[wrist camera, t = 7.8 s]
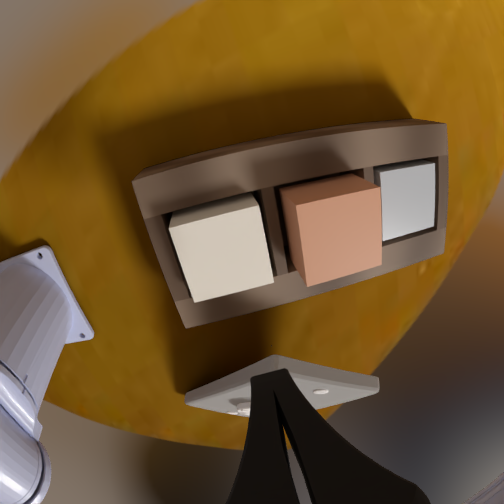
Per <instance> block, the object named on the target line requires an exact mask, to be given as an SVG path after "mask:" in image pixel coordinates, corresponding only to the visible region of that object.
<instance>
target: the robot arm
mask: <svg viewBox="0 0 504 504" xmlns="http://www.w3.org/2000/svg"><path fill="white" fill-rule="evenodd" d="M39 253H41V254H42V256H43V257H41V256H40V255H39ZM81 333H83V334H84V335H82V334H81ZM93 336H94V331H93V329H92V327H91V326H90V324H89V322H88V320H87V319H86V317H85V315H84V313H83V312H82V310H81V308H80V306H79V304H78V302H77V301H76V299H75V297H74V295H73V293H72V291H71V289H70V287H69V285H68V283H67V281H66V279H65V277H64V275H63V273H62V271H61V269H60V267H59V265H58V262H57V260H56V258H55V256H54V254H53V251H52V249H51V248H50V247H49V246H47V245H44V246H41V247H38V248H36V249H33V250H30V251H28V252H25V253H22V254H20V255H17V256H15V257H12V258H10V259H7V260H5V261H2V262H0V504H40V503H41V501H42V500H43V498H44V497H45V495H46V493H47V491H48V487H49V484H50V479H51V464H50V459H49V455H48V453H47V451H46V449H45V448H44V446H43V445H42V443H41V442H40V441H39V438H40V434H41V431H42V425H41V424H40V423H39V421H38V419H37V414H38V411H39V409H40V406H41V403H42V400H43V397H44V394H45V391H46V389H47V386H48V383H49V381H50V378H51V375H52V373H53V370H54V368H55V365H56V363H57V360H58V358H59V356H60V353H61V351H62V348H63V346H64V344H67V343H73V342H78V341H84V340H89V339H92V338H93ZM250 383H251V404H250V415H249V423H248V430H247V436H246V441H245V446H244V451H243V455H242V459H241V462H240V466H239V469H238V473H237V476H236V478H235V482H234V484H233V487H232V490H231V492H230V495H229V497H228V500H227V502H226V504H300V502H299V499H298V496H297V493H296V489H295V485H294V482H293V478H292V474H291V469H290V463H289V457H288V452H287V446H286V441H285V435H284V430H283V427H284V429H285V432H286V434H287V437H288V439H289V442H290V444H291V446H292V449H293V451H294V454H295V456H296V459H297V461H298V463H299V466H300V468H301V471H302V473H303V476H304V479H305V483H306V486H307V489H308V492H309V495H310V499H311V502H312V504H431V503H430V501H429V499H428V498H427V496H426V495H425V494H424V492H423V491H422V490H421V489H420V488H419V487H418V486H417V485H416V484H414V483H412V482H410V481H408V480H406V479H404V478H402V477H400V476H398V475H396V474H394V473H393V472H391V471H389V470H387V469H386V468H384V467H382V466H381V465H379V464H378V463H376V462H374V461H373V460H372V459H370V458H369V457H367V456H366V455H364V454H363V453H362V452H360V451H359V450H358V449H356V448H355V447H354V446H353V445H351V444H350V443H349V442H348V441H347V440H345V439H344V438H343V437H342V436H341V435H340V434H339V433H337V432H336V431H335V430H334V429H333V428H332V427H331V426H330V425H329V424H328V423H327V422H326V421H325V420H324V419H323V417H322V416H321V415H320V414H319V413H318V412H317V411H316V410H315V408H314V407H313V406H312V405H311V404H310V403H309V401H308V400H307V399H306V398H305V396H304V395H303V394H302V392H301V391H300V389H299V388H298V387H297V385H296V383H295V382H294V380H293V379H292V377H291V375H290V373H289V371H288V369H286V368H283V369H279V370H275V371H272V372H268V373H264V374H260V375H256V376H252V377H251V378H250ZM463 504H504V472H503V473H502V474H501V475H500V476H498V478H496V479H495V480H494V481H493V482H491V483H490V484H489V485H488V486H486V487H485V488H484V489H482V490H481V491H480V492H478V493H477V494H475V495H474V496H473V497H471V498H470V499H468V500H467V501H466V502H464V503H463Z"/></svg>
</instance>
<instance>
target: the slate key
mask: <svg viewBox="0 0 504 504" xmlns="http://www.w3.org/2000/svg"><path fill="white" fill-rule="evenodd" d="M373 174H374V184H375V185H377V186H379V187H380V191H381V216H382V241H385V240H389V239H392V238H396V237H399V236H403V235H406V234H409V233H413V232H416V231H420V230H423V229H426V228H430V227H433V226H434V212H435V163H433V162H430V161H426V160H423V159H414V160H408V161H401V162H395V163H389V164H383V165H377V166H373Z"/></svg>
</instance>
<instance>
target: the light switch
mask: <svg viewBox="0 0 504 504" xmlns="http://www.w3.org/2000/svg"><path fill="white" fill-rule="evenodd" d="M271 346H272V345H271ZM283 368H286V369H288V371H289V373H290V375H291V377H292V379H293V380H294V382H295V383H296V385H297V387H298V388H299V389H300V391H301V392H302V394H303V395H304V396H305V398H306V399H307V400H308V401H309V403H310V404H311V405H312V406H313V407H314V408H315V409H320V408H324V407H328V406H332V405H336V404H340V403H344V402H348V401H351V400H355V399H359V398H362V397H365V396H369V395H372V394H375V393H377V392H378V391H379V378H378V377H374V376H369V375H364V374H359V373H354V372H349V371H344V370H339V369H334V368H330V367H325V366H321V365H317V364H312V363H308V362H304V361H300V360H296V359H292V358H288V357H284V356H280V355H271V356H269V357H267V358H265V359H263V360H260V361H258V362H256V363H254V364H252V365H250V366H248V367H245V368H243V369H241V370H239V371H237V372H234V373H232V374H230V375H228V376H225V377H223V378H221V379H218V380H216V381H214V382H211V383H209V384H206V385H204V386H202V387H199V388H197V389H194V390H192V391H189V392H187V393H186V395H185V404H187V405H190V406H194V407H199V408H203V409H208V410H213V411H218V412H223V413H228V414H233V415H239V416H245V417H249V415H250V404H251V383H250V378H251V377H252V376H256V375H260V374H264V373H268V372H272V371H275V370H279V369H283Z"/></svg>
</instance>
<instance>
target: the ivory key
mask: <svg viewBox="0 0 504 504" xmlns="http://www.w3.org/2000/svg"><path fill="white" fill-rule="evenodd" d="M169 231H170V234H171V237H172V240H173V243H174V246H175V249H176V252H177V255H178V258H179V261H180V264H181V266H182V269H183V272H184V275H185V278H186V281H187V283H188V286H189V289H190V292H191V294H192V297H193V300H194V303H196V302H200V301H204V300H208V299H212V298H216V297H220V296H224V295H228V294H232V293H236V292H240V291H244V290H248V289H252V288H255V287H259V286H263V285H267V284H271V283H274V279H273V274H272V269H271V264H270V258H269V253H268V248H267V243H266V238H265V233H264V228H263V223H262V218H261V213H260V208H259V205H258V203H257V202H256V200H255V198H254V197H253V195H252V194H251V192H246V193H241V194H237V195H233V196H229V197H225V198H221V199H217V200H213V201H209V202H205V203H202V204H198V205H194V206H190V207H187V208H183V209H179V210H176V211H173V214H172V217H171V221H170V225H169Z"/></svg>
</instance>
